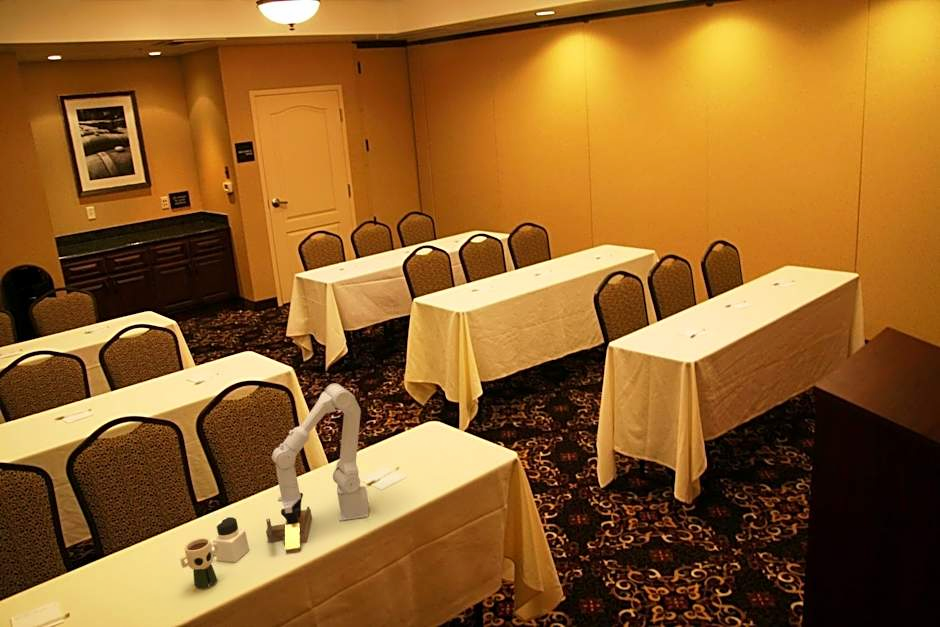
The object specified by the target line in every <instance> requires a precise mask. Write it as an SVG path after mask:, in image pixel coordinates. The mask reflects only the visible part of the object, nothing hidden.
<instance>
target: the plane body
mask: <svg viewBox="0 0 940 627" xmlns="http://www.w3.org/2000/svg"><path fill="white" fill-rule="evenodd" d="M312 518H313V516H312V510H311V508H310V506H307V507H306V509H301V516H300V517H298V523H300V525H301V544H304V543H308V539H309V538H308V537H309V533H310V528H311V525H312V524H311V523H312ZM285 525H289V524H288V522H287V520H286V521H285V523H283V524H275V525H271V527H272V534H273V541H274V542H275V543H276V542H281V541H283V546H284V547H285ZM265 534H266V538H267V543H270V539H269V533H268V527H267V526H266V530H265ZM270 544H271V543H270Z"/></svg>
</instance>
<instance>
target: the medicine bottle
mask: <svg viewBox="0 0 940 627" xmlns="http://www.w3.org/2000/svg"><path fill="white" fill-rule="evenodd" d="M215 526H216V531H217V536H216V537H215V538H214V539H212V543H214V542H216V543H217V546H218V552H217V553H215V556H216V561H218V562H227V563H237V562H238V561H240V560H241V558H242V557H243V556H245V554H247V553H248V552H249V550H250V547H249V542H248V537H247V533H246V530H245V529H239V526H238V521H237V519H236V518H235V517H234V516H233V517H229V516H228V517H224V518H222V519H220V520H219V521H217V522H216V524H215ZM213 548H214V547H213ZM214 550H215V548H214Z"/></svg>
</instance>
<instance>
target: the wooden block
mask: <svg viewBox="0 0 940 627" xmlns="http://www.w3.org/2000/svg"><path fill="white" fill-rule="evenodd" d="M284 550H285V552H286V553H290V552H297V551H301V550H302V543H301V525H300V523H295V524H289V525H285V546H284Z"/></svg>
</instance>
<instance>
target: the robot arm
mask: <svg viewBox="0 0 940 627" xmlns="http://www.w3.org/2000/svg"><path fill="white" fill-rule="evenodd" d="M359 405H360V404H358V401H357V399H356V396H355V395H354V394H353V393H352V392H350V391H349V390H347V389H346V388H344V387H343V386H342V385H341V384H339V383H335V382H334V383H331V384H329V385H327V386H326V388H325V390H324V391H322V392H321V394H320V396H319V398H318V400H317V401H316V403H315V404H314V406H313V407H312V409H311V410H310V412H309V413H308V414H307V416H306V418H304V420H303V422H302V423H301V425H300V426H296V427H294V428H293V429H290V430H289V431H288V435H287V437H286V438H285V440H283V442H282V443H280V444H279V446H278V447H276V448H275V449H274V450H273V452H272V455H271V457H270V458H271V460H272V461H273V463H275V469H276V476H277V480H278V482H277V483H278V486H279V491H280V496H278V498H277V499H278V500H277V501H278V502H281V503H282V505H283V507H284V508H281V510H280V513H281V515H282V517H284V519H285V520H286V521H287V522H288V524H295V523H298V517H300V516H301V510H302V500H303V495H304V494H303V493H304V492H300V486H299V482H298V478H297V471H296V468H295V463H296V457H297V455H298V454H299V453H300V451H301V450H302V449H303V447H304V446H305V445H306V443H307V442H308V441H309V440H310V432H311V431H312V430H313V429H314V428H315V426H316V425H317V424H318V423H319V421H320V420H321V419H323V417H324V416H325V415H326V414H330V413H334V412H337V409H338V410H340V411H341V412H342V413H343V421H342V432H341V441H340V452H339V453H340V454H339V460H338V461H337V462H336V465H335V466H336V467H335V470H334V471H333V474H332V479H333V481H334V483H336V484H337V487H336V493H337V499H338V503H339V508H340V509H339V510H340V512H339V519H338V520H339V522H341V521H342V522H343V521H349V520H357V519H361V518H368V517H369V516H370V515H369V514H370V503H369V497H368V491H367V487H366V486H362V485H361V480H360V478H359V469H358V468H359V467H358V465H357V453H358V444H359V433H360V425H361V424H360V423H361V422H360V421H361V414H362V413H361V412H362V411H361V410H362V409H361V408H360V406H359ZM360 485H361V486H360Z"/></svg>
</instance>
